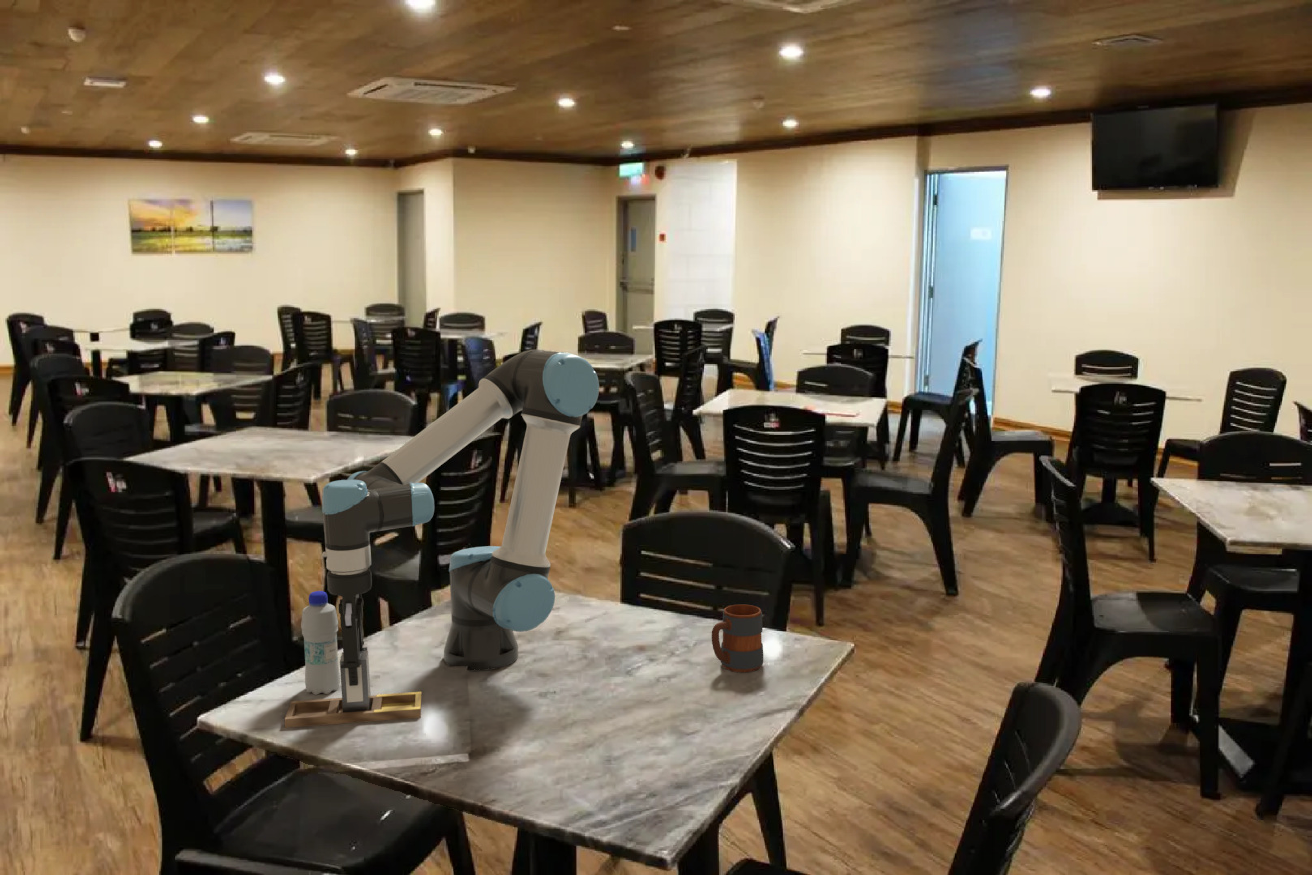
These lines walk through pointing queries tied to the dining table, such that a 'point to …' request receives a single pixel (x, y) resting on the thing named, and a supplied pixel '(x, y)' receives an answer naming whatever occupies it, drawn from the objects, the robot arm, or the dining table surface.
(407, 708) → the wooden compartment tray
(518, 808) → the dining table surface
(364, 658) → the block
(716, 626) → the mug
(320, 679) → the bottle
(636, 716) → the dining table surface
